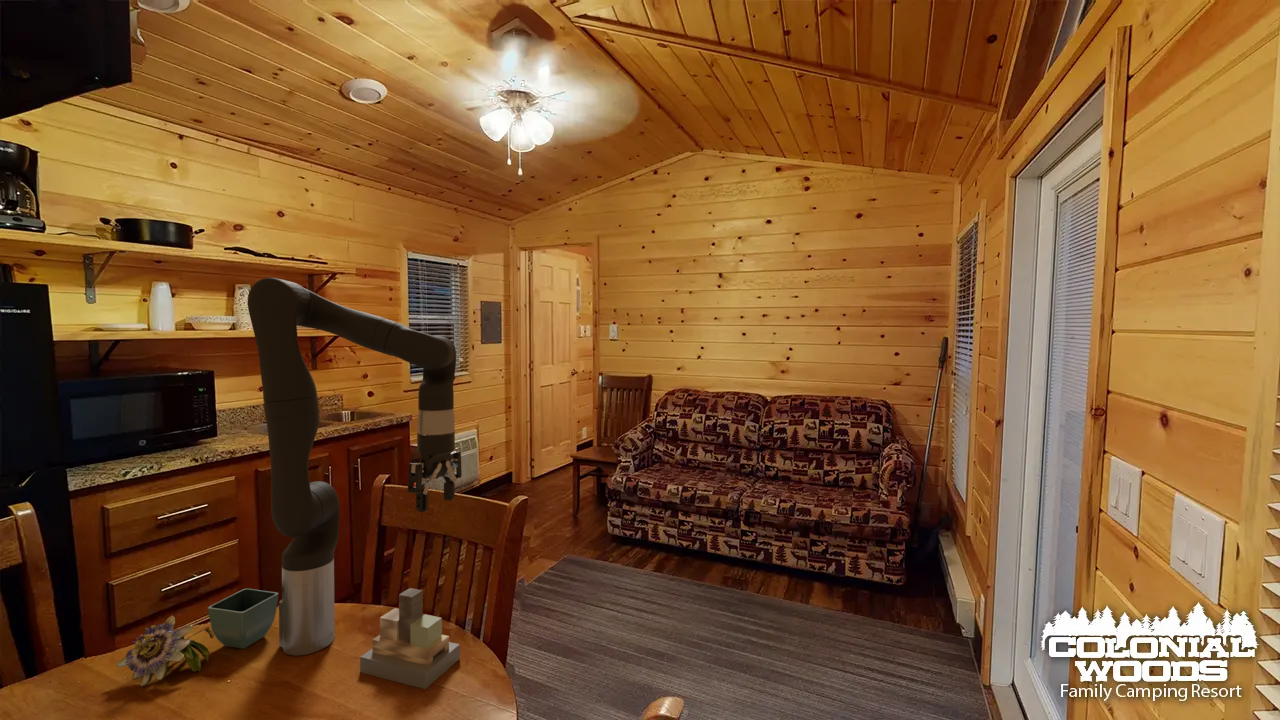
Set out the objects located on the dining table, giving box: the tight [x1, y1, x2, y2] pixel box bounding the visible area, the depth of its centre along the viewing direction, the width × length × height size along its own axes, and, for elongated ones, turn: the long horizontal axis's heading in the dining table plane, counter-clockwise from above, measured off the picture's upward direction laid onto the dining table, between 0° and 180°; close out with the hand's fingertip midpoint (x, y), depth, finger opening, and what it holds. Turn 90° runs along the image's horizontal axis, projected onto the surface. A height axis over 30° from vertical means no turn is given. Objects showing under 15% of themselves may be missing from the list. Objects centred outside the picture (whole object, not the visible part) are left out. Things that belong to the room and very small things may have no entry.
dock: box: [359, 641, 461, 690], centre depth 107 cm, size 15×10×3 cm, turn 72°
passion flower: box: [115, 615, 215, 687], centre depth 104 cm, size 11×11×12 cm
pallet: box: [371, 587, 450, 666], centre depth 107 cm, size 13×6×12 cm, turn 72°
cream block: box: [379, 607, 399, 642], centre depth 108 cm, size 4×4×4 cm
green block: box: [410, 613, 443, 649], centre depth 105 cm, size 4×4×4 cm
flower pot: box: [207, 588, 280, 650], centre depth 114 cm, size 9×9×9 cm
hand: (436, 505), depth 117 cm, fingers open, 8 cm apart
